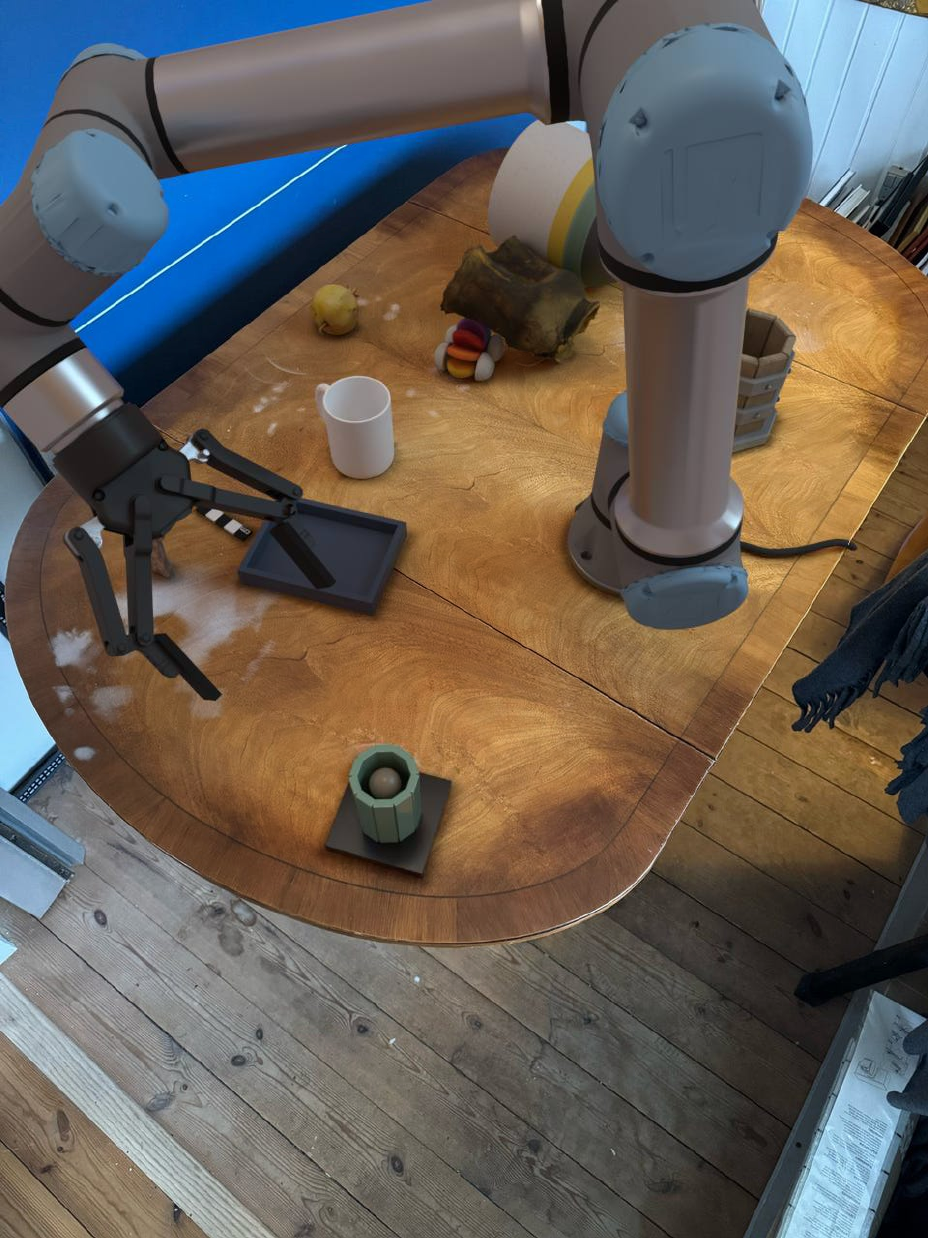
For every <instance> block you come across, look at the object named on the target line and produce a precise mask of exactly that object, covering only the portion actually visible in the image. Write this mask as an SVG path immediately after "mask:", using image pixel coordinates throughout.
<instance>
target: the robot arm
mask: <svg viewBox="0 0 928 1238" xmlns="http://www.w3.org/2000/svg"><path fill="white" fill-rule="evenodd" d="M55 89H56V90H55V94H54V96H53V97H54V98H53V100H52V102H51V105H50V107H49V111H48V113H47V116H46V118H45V121H44V123H43V126H42V128H41V130H40V132H39V135H38V136H37V139H36V141H35V143H34V145H33V148H32V150H31V153H30V154H29V158H28V159H27V162H26V164H25V167H24V168H23V171H22V173H21V176H20V178H19V180H18V183H17V184H16V186H15V187H14V189H13V191H12V192H11V193H10V194H9V196H7V198H5V200H4V201H3V202H2V204H1V205H0V408H1V410H3V412H4V413H5V414H6V415H7V416H8V417H9V418H10V420H11V421H13V423H14V424H15V425H16V426H17V427H18V428H19V430H20V431H21V432H22V433H23V434H24V435H25V436H26V438H28V439H29V441H30V442H31V443H32V444H33V445H34V446H35V447H36V448H37V450H38V451H39V452H41V453H48V452H52V454H53V455H54V457H53V458H52V459H51V461H52V463H53V464H52V467H53V468H54V469H55V470H56V471H57V472H58V474H60V476H61V477H62V478H63V479H64V480H65V481H66V482H67V483H68V485H70V487H71V488H72V489H73V490H74V491H75V493H77V495H79V496H80V498H81V499H82V500H83V501H84V502H85V503H86V505H87V506H89V508H90V510H91V513H92V515H93V516H92V517H93V518H92V519H89V520H87V521H86V522H84V523H83V524H82V525H81V524H80V526H75V527H72V528H70V529H69V530H67V531H65V532H64V534H63V535H62V542H63V544H64V546H65V547H66V548H67V549H68V550H69V552H70V554H71V555H72V556H73V557H74V558H75V560H76V561H77V563H78V566H79V570H80V572H81V576H82V579H83V582H84V586H85V589H86V593H87V596H88V599H89V603H90V606H91V610H92V612H93V616H94V620H95V622H96V626H97V628H98V633H99V636H100V639H101V642H102V646H103V649H104V652H105V654H106V655H107V656H109V657H124V656H126V655H128V654H130V653H133V652H135V651H137V652H139V653H140V654H141V655H142V656H143V657H144V658H145V659H146V660H147V661H148V662H149V663H150V664H151V665H152V666H153V667H154V668H155V669H156V670H157V671H158V672H159V674H160V675H161V676H163V677H165V678H167V679H176V678H177V677H178V676H180V677H181V678H182V679H183V680H184V681H185V682H186V683H187V684H188V685H189V687H191V689H192V690H193V691H194V692H195V693H196V694H197V695H198V696H199V697H200V698H201V699H202V700H203V701H208V702H217V701H218V700H219V699H220V698H221V697H222V696H223V693H222V692H221V691H220V690H219V689H218V688H217V686H215V684H214V683H213V682H212V681H211V680H210V679H209V677H207V676H206V675H205V673H203V671H202V670H201V669H200V668H199V667H198V665H196V664H195V662H193V660H192V659H190V657H189V656H188V655H187V654H186V653H185V652H184V651H183V649H181V648H180V647H179V646H178V645H177V643H176V642H175V641H174V640H173V639H172V637H170V635H168V633H167V632H160V633H155V626H154V604H153V600H154V599H153V577H152V569H151V554H152V540H156V539H159V538H161V537H163V536H164V535H165V536H166V535H168V533H169V532H170V531H171V530H172V529H173V527H174V526H175V525H176V524H177V522H180V521H182V520H184V519H186V518H187V517H189V516H190V515H191V514H192V513H193V509H194V507H195V508H198V507H205V508H210V509H215V510H219V511H221V512H223V513H229V514H233V515H238V516H243V517H248V518H253V519H257V520H262V521H264V520H266V521H271V522H275V523H276V524H277V525H276V526H274V527H273V528H272V529H271V530H270V531H269V532H270V534H271V535H272V536H273V537H274V538H275V540H276V541H277V542H278V543H279V544H280V546H281V547H282V548H283V549H284V551H285V552H286V553H287V554H288V555H289V557H290V558H291V559H292V560H293V562H294V563H295V564H296V565H297V566H298V568H299V569H300V570H301V571H302V572H303V574H304V575H305V576H306V577H307V579H308V580H309V581H310V582H311V583H312V585H313V586H314V587H315V588H316V590H317V589H323V588H329V587H332V586H333V585H334V584H335V583H336V582H337V581H336V580H335V579H334V578H333V576H332V575H331V574H330V573H329V571H328V570H327V569H326V568H325V567H324V565H323V564H322V563H321V562H320V560H319V559H318V558H317V557H316V555H315V554H314V553H313V552H312V550H311V549H312V548H313V547H314V546H315V545H316V543H315V541H314V538H313V537H312V536H311V534H309V532H308V531H307V530H306V528H305V527H304V526H303V524H302V523H301V522H300V521H299V519H298V518H297V517H296V514H297V507H296V503H297V501H298V499H300V498H303V495H304V491H303V488H302V487H301V485H298V484H297V483H295V482H293V481H291V480H289V479H287V478H285V477H283V476H282V475H279V474H278V473H275V472H274V471H272V470H270V469H268V468H265V467H264V466H263V465H260V464H258V463H256V462H254V461H252V460H250V459H249V458H247V457H244V456H243V455H241V454H240V453H237V452H235V451H233V450H231V449H229V448H227V447H226V446H225V445H224V444H222V443H221V442H220V441H219V440H218V439H217V438H216V437H215V436H214V435H213V434H212V433H211V432H210V431H209V430H208V429H206V428H199V429H198V430H196V431H194V432H193V433H191V434H190V435H188V436H186V439H185V443H184V444H183V445H182V446H181V447H180V448H179V449H178V450H177V449H175V448H174V447H172V446H171V445H169V443H168V442H167V441H166V439H165V438H164V437H163V435H162V434H161V433H160V431H159V430H158V429H157V428H156V427H155V425H154V424H153V423H152V422H151V421H150V420H149V418H148V417H147V416H146V415H145V414H144V412H143V411H142V410H141V409H140V407H139V406H138V405H137V404H136V403H134V404H133V403H132V402H130V401H128V402H127V403H125V402H124V401H123V400H122V397H123V396H124V393H125V389H124V388H123V387H122V386H121V384H120V383H119V382H118V381H117V380H116V379H115V377H113V375H112V374H111V373H110V372H109V370H108V369H107V368H106V367H105V366H104V364H102V362H101V361H100V360H99V359H98V358H97V356H95V354H94V353H93V352H92V351H91V350H90V348H89V347H88V346H87V344H86V343H85V342H84V341H83V340H82V339H81V337H80V335H79V334H78V333H77V332H76V331H75V330H74V328H73V327H72V326H71V324H70V323H72V321H74V320H75V319H76V318H77V317H78V316H79V315H80V314H81V313H83V312H84V311H85V310H86V309H87V308H88V307H89V306H90V305H91V304H92V303H94V302H95V301H97V299H98V298H100V297H101V296H102V295H103V294H104V293H105V292H107V290H109V289H110V288H111V287H112V286H113V285H114V284H116V283H117V282H118V281H119V280H120V279H122V277H123V276H125V275H126V274H127V273H130V272H132V271H133V270H134V269H135V267H138V266H139V265H141V264H142V263H143V262H144V260H145V259H146V258H147V255H148V253H149V252H150V251H151V249H153V247H154V246H155V245H156V244H157V243H158V242H159V241H160V240H161V239H162V237H163V236H164V234H165V233H166V231H167V230H168V226H169V223H170V210H169V206H168V204H167V203H166V202H165V200H164V196H165V192H164V189H163V187H162V184H161V183H160V180H167V179H171V178H176V177H180V176H185V175H189V174H194V173H199V172H203V171H210V170H215V169H222V168H227V167H232V166H238V165H244V164H250V163H254V162H260V161H265V160H271V159H277V158H282V157H287V156H293V155H298V154H304V153H305V154H306V153H310V152H316V151H322V150H326V149H332V148H338V147H343V146H350V145H355V144H360V143H365V142H371V141H376V140H381V139H387V138H392V137H393V138H394V137H398V136H399V137H400V136H404V135H410V134H415V133H416V134H417V133H420V132H426V131H432V130H437V129H442V128H449V127H455V126H459V125H465V124H466V125H467V124H471V123H476V122H483V121H487V120H493V119H498V118H504V117H505V118H506V117H509V116H516V115H522V114H530V115H532V116H533V117H535V118H536V120H539V121H541V122H542V123H543V124H544V125H552V124H557V123H563V122H566V123H568V122H585V124H586V129H587V133H588V134H589V138H590V143H591V150H592V159H593V169H594V182H595V198H596V213H597V232H598V245H599V255H600V260H601V262H602V265H603V267H604V268H605V269H606V271H607V272H608V274H610V275H611V276H612V277H613V278H614V279H615V280H616V281H617V282H618V283H619V284H621V285H622V303H623V307H622V308H623V331H624V356H625V357H624V359H625V360H624V361H625V383H626V384H625V386H626V388H625V390H623V392H621V393H619V394H617V395H616V396H615V397H614V398H613V399H612V400H611V401H610V404H609V406H608V409H607V412H606V416H605V417H604V420H603V421H602V425H601V426H602V432H601V433H602V434H601V439H600V444H599V450H598V456H597V461H596V466H595V471H594V476H593V482H592V487H591V492H590V493H589V495H588V496H587V497H586V498H584V499H583V500H582V501H580V502H579V503H578V504H576V505H575V506H574V511H573V513H574V515H573V517H572V520H571V522H570V524H569V526H568V527H569V528H568V532H567V538H566V551H567V555H568V558H569V561H570V563H571V565H572V566H573V568H574V569H575V571H576V572H577V573H578V575H579V576H580V577H581V578H582V579H583V580H584V581H586V583H588V584H589V585H591V586H592V587H594V588H595V589H597V590H599V591H601V592H603V593H605V594H609V595H611V596H615V597H619V598H621V599H622V600H623V601H624V605H625V609H626V612H627V614H628V615H629V617H630V618H631V619H632V620H633V621H634V622H636V623H637V624H639V625H641V626H642V627H643V626H644V627H647V628H652V629H655V630H661V631H664V630H665V631H678V630H686V629H688V630H689V629H694V628H698V627H703V626H706V625H709V624H710V625H711V624H713V623H715V622H717V621H719V620H721V619H724V618H726V617H728V616H729V615H731V614H733V613H734V612H736V610H738V609H739V608H741V606H742V605H743V604H744V603H745V601H746V599H747V597H748V595H749V589H750V588H749V583H748V578H749V573H748V571H747V569H746V568H744V564H743V558H742V553H741V550H743V551H747V552H750V553H752V554H756V555H759V556H764V557H771V558H772V557H773V558H776V557H777V558H780V557H781V558H782V557H791V556H793V557H794V556H799V555H800V556H801V555H806V554H810V553H814V552H817V551H821V550H825V549H830V548H834V547H835V548H836V547H839V548H841V547H843V548H846V549H847V550H849V551H851V552H856V551H857V550H858V546H857V544H856V543H855V542H853V541H852V540H849V539H846V538H845V539H844V538H831V539H825V540H821V541H818V542H814V543H810V544H806V545H802V546H795V547H794V546H793V547H785V548H784V547H783V548H768V547H762V546H759V545H756V544H753V543H751V542H747V541H742V540H741V538H742V537H741V536H742V528H743V521H744V520H743V519H744V512H745V501H744V495H743V493H742V490H741V487H740V486H739V485H738V483H737V482H736V481H735V479H734V478H733V477H732V476H731V469H732V468H731V467H732V458H733V457H732V456H733V452H732V448H733V439H734V429H735V419H736V409H737V399H738V389H739V379H740V369H741V359H742V349H743V339H744V329H745V319H746V309H747V310H748V308H747V307H748V298H749V286H750V279H751V277H752V276H754V275H755V274H757V273H758V272H759V271H760V270H762V269H763V268H764V267H765V265H767V264H768V262H769V261H770V260H771V258H772V256H773V255H774V253H775V250H776V247H777V244H778V238H779V233H780V232H785V231H786V230H787V228H788V227H789V225H790V224H791V222H792V221H793V219H794V218H795V216H796V214H797V212H798V211H799V208H800V207H801V204H802V201H803V200H804V198H805V195H806V192H807V190H808V186H809V182H810V180H811V179H810V177H811V173H812V168H813V156H814V140H813V131H812V126H811V123H810V122H811V121H810V120H811V119H810V114H809V113H810V112H809V108H808V104H807V99H806V97H805V94H804V91H803V89H802V83H801V82H800V80H799V78H798V76H797V74H796V72H795V70H794V69H793V67H792V65H791V64H790V62H789V61H788V59H787V58H786V57H785V56H784V54H782V52H781V51H780V50H779V48H778V46H777V44H776V42H775V41H774V39H773V36H772V35H771V32H770V30H769V29H768V26H767V24H766V22H765V20H764V18H763V17H762V14H761V13H760V10H759V8H758V5H757V3H756V0H428V1H424V2H417V3H414V4H410V5H409V4H408V5H403V6H398V7H394V8H389V9H385V10H384V9H383V10H379V11H374V12H369V13H365V14H359V15H355V16H350V17H345V18H341V19H340V18H339V19H335V20H330V21H325V22H319V23H316V24H309V25H306V26H301V27H296V28H292V29H287V30H281V31H276V32H271V33H267V34H261V35H257V36H251V37H247V38H242V39H241V38H240V39H237V40H232V41H228V42H227V41H226V42H222V43H217V44H211V45H207V46H202V47H197V48H193V49H187V50H183V51H178V52H174V53H167V54H163V55H158V56H152V57H146V56H145V55H143V54H142V53H140V52H139V51H137V50H135V49H133V48H129V47H127V46H124V45H120V44H116V43H112V42H102V43H98V44H93V45H91V46H88V47H87V48H85V49H83V50H82V51H81V52H79V54H78V55H76V57H75V58H74V59H73V61H72V62H71V64H70V66H69V67H68V69H65V71H64V72H63V74H62V75H61V77H60V79H59V81H58V84H57V86H56V88H55ZM190 461H193V462H194V463H196V464H198V465H203V464H206V465H207V466H208V467H210V468H212V469H213V470H215V471H218V472H219V473H222V474H224V475H226V476H228V477H230V478H231V479H233V480H236V481H237V482H239V483H242V484H243V485H246V486H247V487H250V488H251V489H253V490H256V491H258V492H260V493H262V494H264V495H266V496H268V497H269V498H271V499H274V500H271V499H266V498H263V497H258V496H254V495H249V494H245V493H241V492H236V491H231V490H227V489H223V488H219V487H216V486H215V485H213V484H208V483H204V482H199V481H195V480H193V478H192V472H191V463H190ZM275 500H277V501H275ZM102 531H105V532H106V531H107V532H110V533H114V534H117V535H122V552H123V557H124V559H125V580H126V581H125V582H126V605H127V606H126V607H127V632H128V634H127V632H126V629H125V625H124V623H123V618H122V615H121V612H120V608H119V605H118V601H117V598H116V594H115V591H114V588H113V585H112V581H111V579H110V578H111V577H110V576H109V575H110V574H109V571H108V569H107V565H106V562H105V558H104V556H103V553H102V551H101V550H100V549H101V548H102V547H103V544H104V541H103V538H102ZM849 541H850V543H849ZM848 543H849V545H848Z"/></svg>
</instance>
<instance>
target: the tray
mask: <svg viewBox="0 0 928 1238" xmlns="http://www.w3.org/2000/svg"><path fill="white" fill-rule="evenodd" d="M274 501H277V500H275V499H274ZM296 507H297V514H296V517H297V518H298V519H299V521H300V522H301V523H302V524H303V526H304V527H305V528H306V530H307V531H308V532H309V534H311V536H312V537H313V538H314V541H315V543H316V545H315V546H314V547H313V548H312V549H311V550H312V552H313V553H314V554H315V555H316V557H317V558H318V559H319V560H320V562H321V563H322V564H323V565H324V567H325V568H326V569H327V570H328V571H329V573H330V574H331V575H332V576H333V578H334V579H335V580H336V581H337V582H336V583H335V584H334V585H333V586H332V587H329V588H323V589H317V590H316V588H315V587H314V586H313V585H312V583H311V582H310V581H309V580H308V579H307V577H306V576H305V575H304V574H303V572H302V571H301V570H300V569H299V568H298V566H297V565H296V564H295V563H294V562H293V560H292V559H291V558H290V557H289V555H288V554H287V553H286V552H285V551H284V549H283V548H282V547H281V546H280V544H279V543H278V542H277V541H276V540H275V538H274V537H273V536H272V535H271V534H270V532H269V531H270V530H271V529H272V528H273V527H274V526H276V525H277V524H276V523H275V522H271V521H266V520H262V524H261V525H260V527H259V529H258V531H257V533H256V534H255V536H254V538H253V540H252V542H251V543H250V546H249V547H248V549H247V551H246V553H245V555H244V557H243V559H242V560H241V562H240V564H239V566H238V568H237V569H236V571H237V574H238V577H239V580H240V583H241V584H243V585H246V586H250V587H254V588H258V589H262V590H266V591H271V592H275V593H278V594H282V595H286V596H290V597H295V598H299V599H303V600H306V601H311V602H315V603H319V604H322V605H327V606H331V607H335V608H338V609H342V610H347V611H351V612H354V613H355V612H356V613H359V614H363V615H367V616H371V617H374V616H375V614H376V611H377V609H378V606H379V605H380V602H381V600H382V597H383V595H384V592H385V590H386V587H387V585H388V582H389V580H390V578H391V575H392V574H393V571H394V568H395V565H396V563H397V561H398V558H399V556H400V553H401V551H402V549H403V546H404V545H405V542H406V540H407V537H408V528H407V521H404V520H400V519H399V520H398V519H395V518H391V517H386V516H383V515H378V514H374V513H369V512H364V511H361V510H356V509H352V508H347V507H343V506H339V505H335V504H329V503H326V502H321V501H318V500H317V501H316V500H312V499H308V498H305V497H301V498H300V499H298V501H297V503H296Z"/></svg>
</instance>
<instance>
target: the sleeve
mask: <svg viewBox="0 0 928 1238" xmlns="http://www.w3.org/2000/svg"><path fill="white" fill-rule="evenodd" d="M380 768H391V769H393V770H395V771H396V772H397V773H398V775H399V776H400V779H401V789H400V792H401V793H400V794H398V795H397V796H395V797H394V798H393V799H377V800H375V799H374V798H372V797H373V794H372V793H371V791H370V789H369V780H370V777H371V775H372V774H373V773H374V772H375V771H376V770H378V769H380ZM419 772H420V771H419V769H418V766H417V763H416V760H415V758H414V756H412V753H410V752H409V751H407V750H405V749H403V748H402V747H400V746H399V745H398V744H396V745H395V744H393V743H390V744H386V743H385V744H374V745H371V746H369V747H368V748H367V749H365V750H363V751H362V752H360V753H359V754H358V755H357V756H356V757H355V758H354V760H353V761H352V765H351V767H350V770H349V772H348V783H350V787H351V791H352V795H353V800H354V804H355V808H356V813H357V816H358V820H359V823H360V826H361V829H362V830H363V832H364V833H365V834H366V835H368V836H369V837H371V838H372V839H374V840H375V841H377V842H378V841H379V840H380V843H388V842H398V839H399V840H400V841H402V840H403V839H404V838H406V837H407V836H409V835H410V834H411V833H413V832H414V831H415V829H417V826H418V823H419V820H420V817H421V814H422V806H421V792H420V778H419Z"/></svg>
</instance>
